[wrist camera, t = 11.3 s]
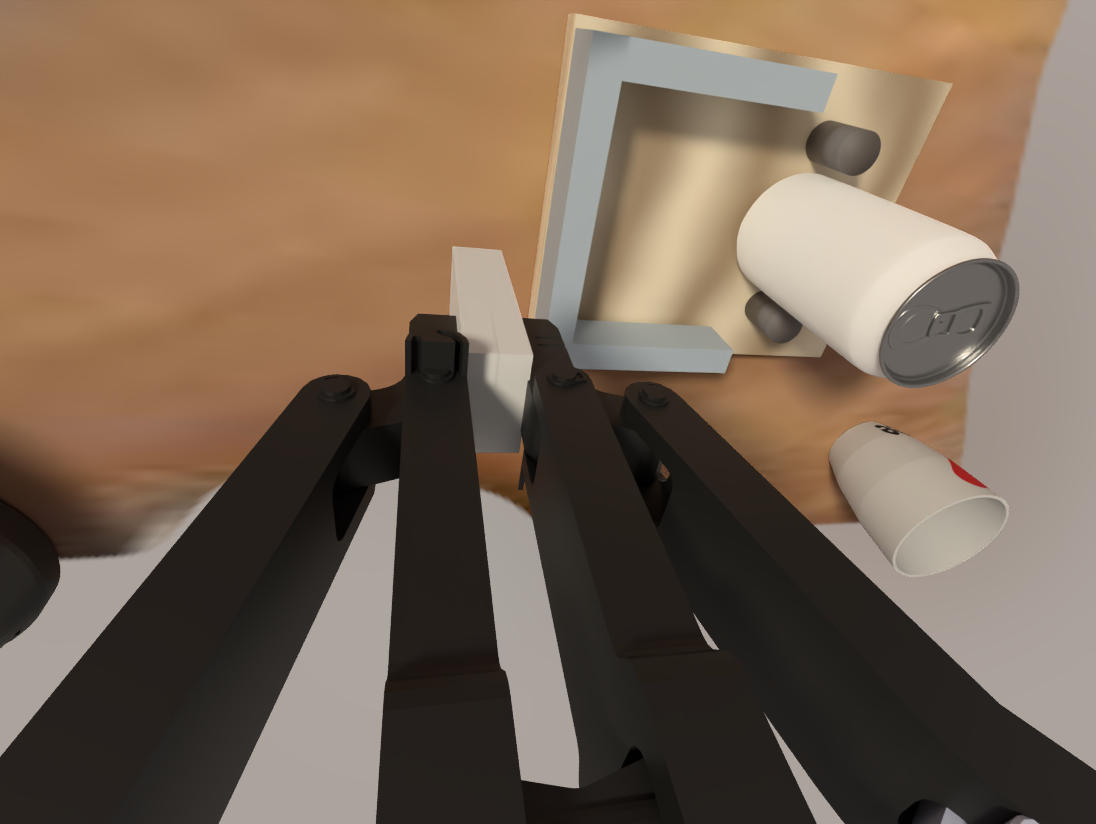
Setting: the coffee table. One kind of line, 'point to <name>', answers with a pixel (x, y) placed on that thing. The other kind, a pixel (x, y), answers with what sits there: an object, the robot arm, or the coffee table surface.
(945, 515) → the cup
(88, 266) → the coffee table surface
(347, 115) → the coffee table surface
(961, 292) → the can
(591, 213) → the grey frame
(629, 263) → the base plate
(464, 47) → the coffee table surface
